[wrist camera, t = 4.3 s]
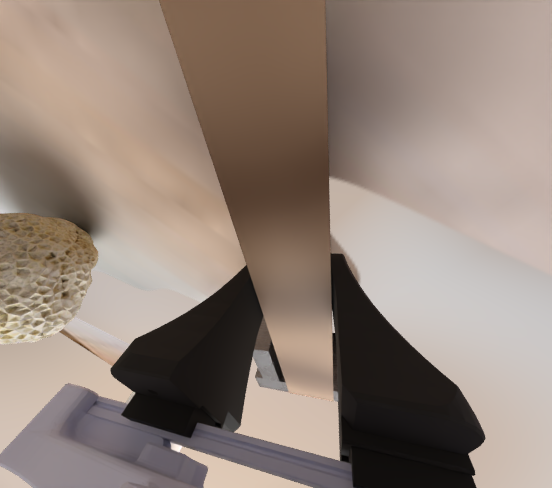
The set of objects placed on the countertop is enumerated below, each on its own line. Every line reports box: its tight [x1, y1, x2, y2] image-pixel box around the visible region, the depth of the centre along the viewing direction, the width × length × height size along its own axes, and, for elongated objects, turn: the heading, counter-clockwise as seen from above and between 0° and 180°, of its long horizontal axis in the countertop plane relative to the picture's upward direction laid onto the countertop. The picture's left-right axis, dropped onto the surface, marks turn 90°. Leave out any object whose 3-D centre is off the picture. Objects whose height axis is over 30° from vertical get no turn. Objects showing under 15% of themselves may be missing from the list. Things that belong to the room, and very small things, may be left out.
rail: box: [159, 0, 334, 401], centre depth 11 cm, size 22×4×5 cm, turn 10°
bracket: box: [253, 316, 338, 402], centre depth 17 cm, size 10×7×5 cm
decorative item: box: [0, 213, 98, 344], centre depth 15 cm, size 12×9×10 cm
